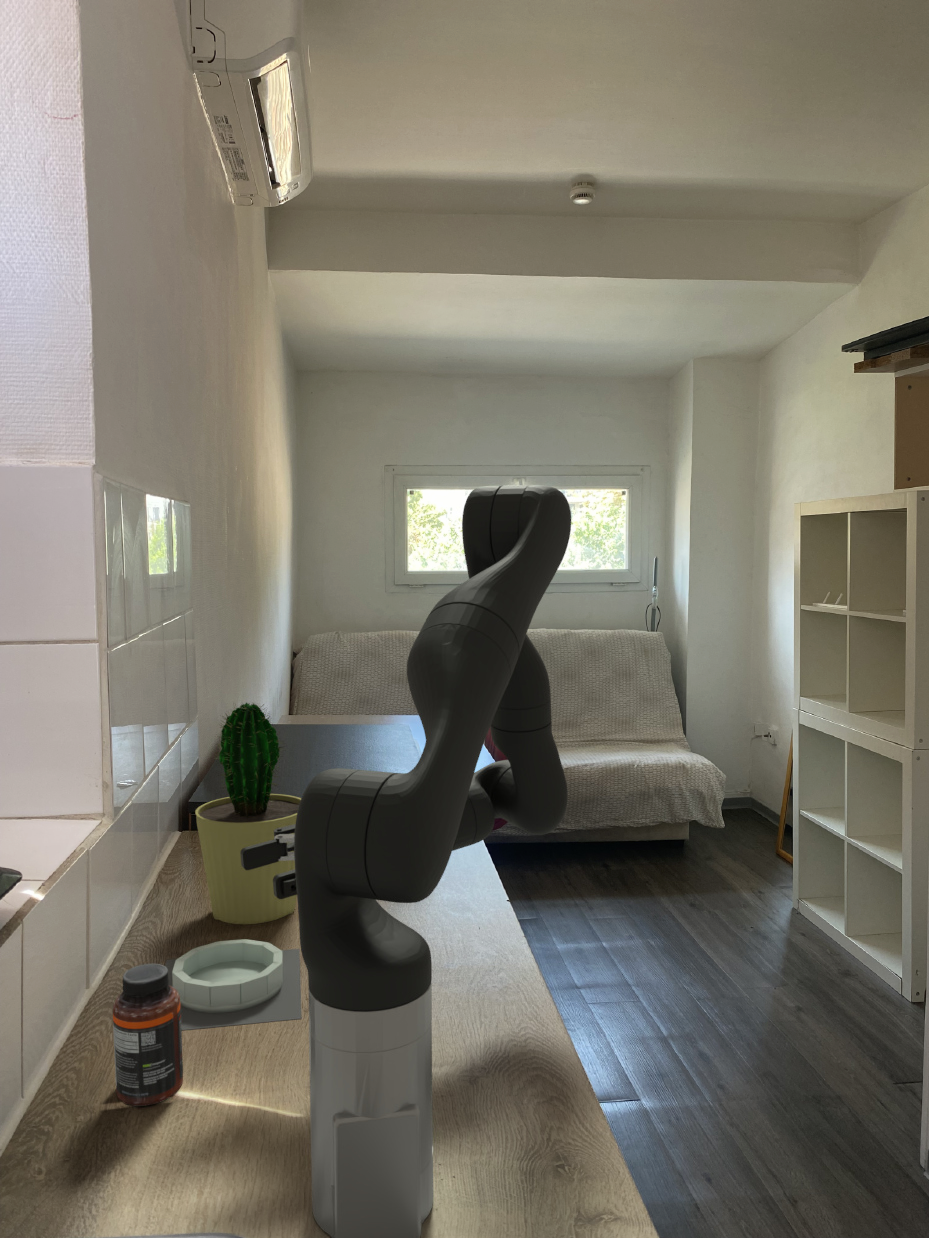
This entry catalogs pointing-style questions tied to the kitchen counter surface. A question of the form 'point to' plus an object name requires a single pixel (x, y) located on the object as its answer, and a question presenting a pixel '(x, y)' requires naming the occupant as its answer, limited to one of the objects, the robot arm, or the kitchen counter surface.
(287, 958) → the mat
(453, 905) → the kitchen counter surface
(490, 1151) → the kitchen counter surface
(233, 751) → the potted cactus
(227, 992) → the bowl
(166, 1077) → the supplement bottle
